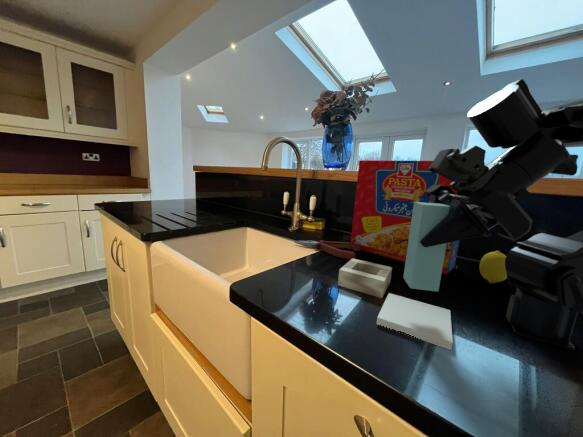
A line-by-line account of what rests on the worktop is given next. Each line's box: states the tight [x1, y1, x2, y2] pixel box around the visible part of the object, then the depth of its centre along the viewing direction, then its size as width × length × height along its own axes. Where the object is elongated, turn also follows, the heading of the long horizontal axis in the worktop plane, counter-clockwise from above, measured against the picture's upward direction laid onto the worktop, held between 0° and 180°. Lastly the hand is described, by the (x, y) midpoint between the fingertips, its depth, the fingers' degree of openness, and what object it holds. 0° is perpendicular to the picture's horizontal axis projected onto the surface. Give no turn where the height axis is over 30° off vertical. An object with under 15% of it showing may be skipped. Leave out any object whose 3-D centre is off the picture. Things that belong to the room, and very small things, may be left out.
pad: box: [376, 292, 454, 351], centre depth 40 cm, size 10×10×1 cm
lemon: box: [479, 250, 507, 284], centre depth 57 cm, size 6×6×8 cm
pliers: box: [294, 239, 361, 260], centre depth 77 cm, size 12×20×3 cm, turn 66°
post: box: [403, 202, 450, 292], centre depth 38 cm, size 4×4×13 cm
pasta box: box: [350, 159, 460, 275], centre depth 72 cm, size 28×8×28 cm, turn 44°
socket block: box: [337, 258, 393, 299], centre depth 53 cm, size 9×9×4 cm
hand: (417, 240), depth 38 cm, fingers closed on post, 4 cm apart
